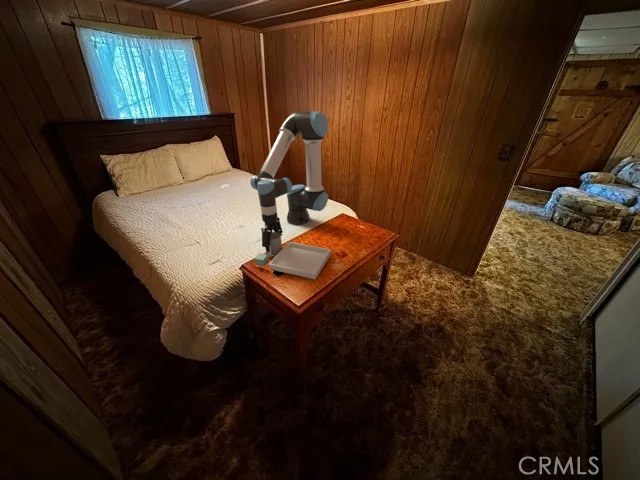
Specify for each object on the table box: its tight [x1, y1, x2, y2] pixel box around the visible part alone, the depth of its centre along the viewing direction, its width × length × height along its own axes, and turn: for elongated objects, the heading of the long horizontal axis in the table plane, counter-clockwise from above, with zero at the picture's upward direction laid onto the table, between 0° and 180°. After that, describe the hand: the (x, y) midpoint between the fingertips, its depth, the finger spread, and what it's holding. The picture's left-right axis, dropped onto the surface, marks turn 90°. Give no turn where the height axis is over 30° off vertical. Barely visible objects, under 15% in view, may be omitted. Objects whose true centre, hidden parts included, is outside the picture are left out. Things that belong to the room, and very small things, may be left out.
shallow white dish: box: [268, 241, 332, 280], centre depth 124 cm, size 22×24×4 cm
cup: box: [270, 231, 283, 257], centre depth 133 cm, size 8×8×10 cm
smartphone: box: [272, 270, 285, 278], centre depth 123 cm, size 7×1×15 cm
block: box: [253, 252, 270, 267], centre depth 124 cm, size 5×5×5 cm
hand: (274, 251), depth 135 cm, fingers open, 9 cm apart
